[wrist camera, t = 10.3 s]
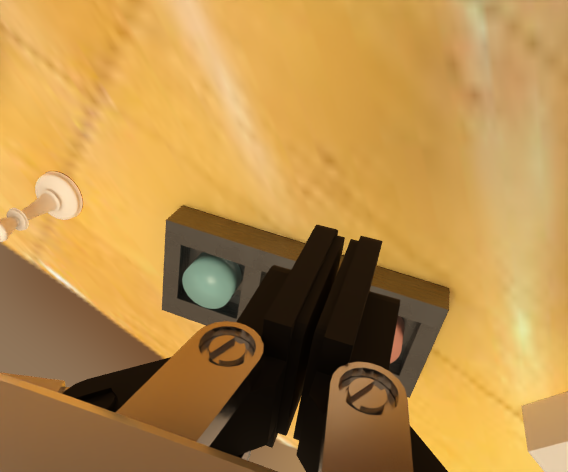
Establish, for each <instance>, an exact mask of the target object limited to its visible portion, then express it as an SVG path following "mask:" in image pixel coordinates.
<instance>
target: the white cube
mask: <svg viewBox="0 0 568 472" xmlns="http://www.w3.org/2000/svg"><path fill="white" fill-rule="evenodd" d="M521 407H522V414H523V420H524V427H525V434H526V441H527V448H528V452H529V453H530V455H531V456H532V457H533V458H534V460H535V461H536V462H537V463H538V464H539V466H540V467H541V468H542V469H543V471H544V472H568V392H564V393H561V394H558V395H555V396H551V397H548V398H545V399H542V400H539V401H535V402H532V403H529V404H526V405H523V406H521Z"/></svg>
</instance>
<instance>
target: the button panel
mask: <svg viewBox="0 0 568 472" xmlns="http://www.w3.org/2000/svg"><path fill="white" fill-rule="evenodd" d="M304 246H305V243H301V242H298V241H295V240H292V239H288V238H285V237H282V236H279V235H276V234H272V233H269V232H266V231H263V230H260V229H256V228H253V227H250V226H247V225H243V224H240V223H237V222H234V221H231V220H227V219H224V218H221V217H218V216H215V215H211V214H208V213H205V212H202V211H199V210H195V209H192V208H189V207H186V206H182V207H181V208H179V209H178V210H177V211H176V212H175V213H174V214H172V215H171V216H170V217H169V218H168V219H167V220H166V234H165V255H164V276H163V297H162V310H164V311H167V312H170V313H173V314H175V315H178V316H181V317H184V318H187V319H189V320H192V321H195V322H198V323H201V324H204V325H206V326H207V325H210V324H212V323H216V322H223V321H228V322H237V320H238V318H239V317H240V315H241V314H242V312H243V310H244V309H245V307H246V306H247V304H248V303H249V301H250V299H251V298H252V296H253V295H254V293H255V291H256V290H257V288H258V287H259V285H260V283H261V282H262V280H263V279H264V277H265V276H266V274H267V272H268V271H269V269H270V268H271V267H272V266H273V265H276V266H280V267H283V268H287V269H292V268H293V266H294V264H295V262H296V260H297V259H298V257H299V255H300V253H301V251H302V250H303V248H304ZM203 252H205V253H208V254H211V255H214V256H217V257H220V258H223V259H226V260H229V261H232V262H235V263H237V264H238V265H239V267H240V270H241V274H242V280H241V283H240V285H239V287H238V288H237V289H236V291H235V292H234V294H233V295H232V297H231V298H230V300H229V301H228V302H227V304H226V305H224V306H223V307H221V308H217V309H210V308H205V307H202V306H200V305H198V304H197V303H195V302H194V301H193V300H192V299H191V298H190V297H189V296H188V295H187V293H186V292H185V290H184V287H183V282H182V278H183V274H184V272H185V271H186V269H187V268H188V267H189V266H190V265H191V264H192V263H193V262H194V261H195V259H196V258H197V257H198V256H199V255H200V254H201V253H203ZM343 258H344V256H343V255H341V259H340V264H339V268H340V266H341V263H342V261H343ZM338 271H339V269H338ZM370 291H371V292H374V293H378V294H382V295H385V296H389V297H393V298H396V299H400V307H399V313H398V316H400V317H402V319H403V321H404V325H405V329H404V336H403V343H402V350H401V353H400V355H399V357H398V358H397V359H396V360H395V361H394V362H392V363H390V365H389V371H390V372H391V373H392V374H393V375H394V376H395V377H397V378H398V379H399V381H400V382H401V384H402V385H403V387H404V388H405V391H406V395H407V397H409V398H410V396H411V393H412V391H413V389H414V387H415V384H416V382H417V380H418V378H419V376H420V373H421V371H422V369H423V367H424V364H425V362H426V360H427V358H428V355H429V353H430V351H431V349H432V346H433V344H434V342H435V340H436V337H437V335H438V333H439V331H440V328H441V326H442V324H443V322H444V319H445V317H446V315H447V313H448V311H449V288H446V287H443V286H439V285H436V284H433V283H430V282H427V281H423V280H420V279H417V278H414V277H411V276H407V275H404V274H401V273H398V272H394V271H391V270H388V269H385V268H382V267H378V266H376V268H375V272H374V276H373V280H372V284H371V288H370Z"/></svg>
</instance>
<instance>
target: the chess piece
mask: <svg viewBox="0 0 568 472" xmlns="http://www.w3.org/2000/svg"><path fill="white" fill-rule="evenodd" d="M35 191H36V196H37V199H36V200H35V201H34V202H33V203H31V204H30V205H29V206H27V207H26V208H24V209H23V210H22V211H21V210H19V209H17V208H11V209H10V210H9V211H8V212H7V218H2V219H0V242H4V241H6V240H7V239H8V237H9V236H10V234H11V233H12V232H13V231H14V230H15V229H17V230H25V229H27V228H28V226H29V221H28V220H30V219H32V218H34V217H37V216H39V215H42V214H44V213H47V212H48V213H49V214H50V215H52V216H53V217H55V218H58V219H62V220H67V219H71V218H73V217H76V216H77V215H78V214H79V213H80V212H81V210H82V206H83V200H82V196H81V193H80V191H79V189H78V187H77V186H76V184H75V183H74V182H73V181H72V180H71V179H70V178H69V177H67V176H66V175H64V174H62V173H60V172H56V171H50V172H47V173H45V174H44V175H42V176H41V177H40V178H39V179H38V180H37V182H36V186H35Z"/></svg>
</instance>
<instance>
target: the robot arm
mask: <svg viewBox="0 0 568 472" xmlns="http://www.w3.org/2000/svg"><path fill="white" fill-rule="evenodd" d="M337 235H338V230H336V229H332V228H328V227H324V226H320V225H316V226H315V228H314V230H313V232H312V233H311V235H310V237H309V239H308V241H307V242H306V244H305V246H304V248H303V250H302V251H301V253H300V255H299V257H298V259H297V260H296V262H295V264H294V266H293V268H292V269H287V268H283V267H280V266H276V265H273V266H272V267H271V268H270V269H269V271H268V272H267V274H266V276H265V277H264V279H263V280H262V282H261V283H260V285H259V287H258V288H257V290H256V291H255V293H254V295H253V296H252V298H251V299H250V301H249V303H248V304H247V306H246V307H245V309H244V310H243V312H242V314H241V315H240V317H239V318H238V320H237V322H228V321H223V322H216V323H212V324H210V325H207V326H205V327H203V328H202V329H200V330H199V331H198V332H197V333H196V334H194V335H193V336H192V337H191V338H190V339H189V340H188V341H187V342H186V343H185V344H184V345H183V346H182V347H181V348H180V349H179V350H178V351H177V352H176V353H175V354H174V355H173V356H172V357H170V358H166V359H162V360H159V361H155V362H151V363H147V364H143V365H140V366H136V367H132V368H129V369H124V370H121V371H117V372H113V373H109V374H105V375H102V376H98V377H94V378H91V379H87V380H84V381H82V382H79V383H77V384H75V385H73V386H72V387H65V381H63V380H55V379H47V378H39V377H32V376H24V375H16V374H8V373H0V472H277V471H274V470H272V469H269V468H266V467H263V466H261V465H258V464H255V463H253V462H250V461H248V459H249V457H250V452H251V450H254V449H257V448H259V447H262V446H265V445H267V446H269V447H273V445H274V442H275V439H276V437H277V434H278V433H280V434H282V435H285V436H286V435H287V433H288V430H289V428H290V425H291V422H292V420H293V417H294V414H295V411H296V409H297V406H298V403H299V401H300V398H301V401H300V406H299V411H298V416H297V421H296V426H295V432H294V437H293V438H294V439H297V440H299V445H298V450H297V457H298V458H299V460H300V462H301V464H302V465H303V467H304V469H305V470H306V472H448V471H447V470H446V469H445V467H444V466H443V465H442V464H441V463H440V461H439V460H438V459H437V458H436V457H435V455H434V454H433V453H432V452H431V451H430V449H429V448H428V447H427V446H426V444H425V443H424V442H423V441H422V440H421V438H420V437H419V436H418V435H417V434H416V432H415V431H414V430H413V429H412V428H411V426H410V424H409V412H408V400H407V395H406V391H405V388H404V387H403V385H402V384H401V382H400V381H399V379H398V378H397V377H395V376H394V375H393V374H392V373H391V372H390V371H389V365H390V359H391V354H392V348H393V342H394V336H395V330H396V325H397V319H398V313H399V307H400V299H396V298H393V297H389V296H385V295H382V294H378V293H374V292H371V291H370V288H371V284H372V280H373V276H374V272H375V268H376V265H377V261H378V257H379V253H380V249H381V245H382V241H380V240H376V239H372V238H368V237H364V236H361V237H360V239H359V241H357V240H353V239H351V240H350V243H349V245H348V248H347V251H346V253H345V256H344V258H343V261H342V263H341V266H340V268H339V264H340V259H341V254H342V250H343V245H344V239H345V237H341V236H337ZM338 269H339V271H338Z"/></svg>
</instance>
